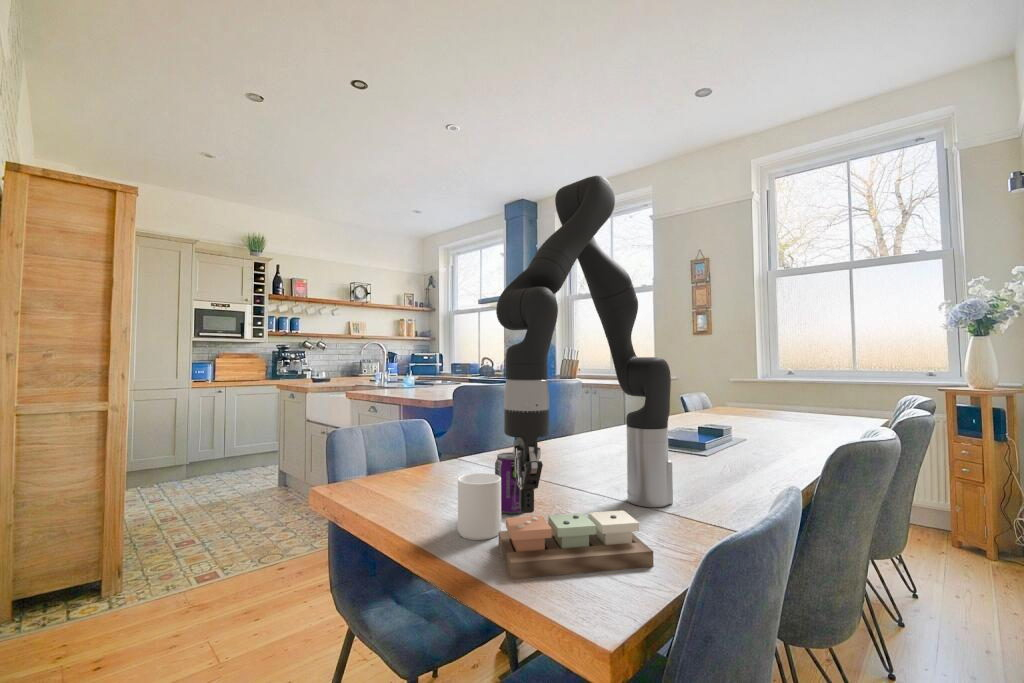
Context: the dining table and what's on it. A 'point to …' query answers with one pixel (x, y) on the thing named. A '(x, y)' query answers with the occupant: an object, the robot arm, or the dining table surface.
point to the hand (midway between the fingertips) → (526, 511)
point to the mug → (479, 506)
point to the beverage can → (508, 483)
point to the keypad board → (573, 557)
